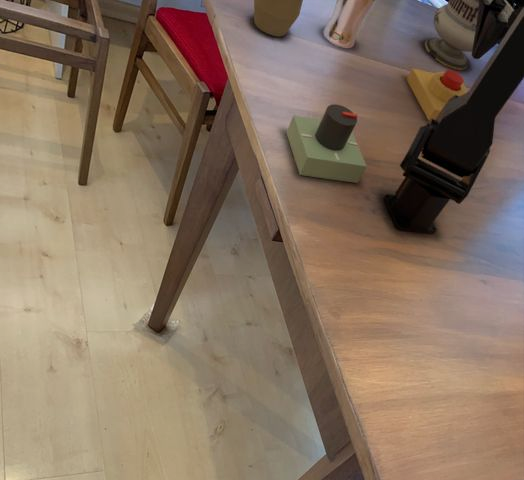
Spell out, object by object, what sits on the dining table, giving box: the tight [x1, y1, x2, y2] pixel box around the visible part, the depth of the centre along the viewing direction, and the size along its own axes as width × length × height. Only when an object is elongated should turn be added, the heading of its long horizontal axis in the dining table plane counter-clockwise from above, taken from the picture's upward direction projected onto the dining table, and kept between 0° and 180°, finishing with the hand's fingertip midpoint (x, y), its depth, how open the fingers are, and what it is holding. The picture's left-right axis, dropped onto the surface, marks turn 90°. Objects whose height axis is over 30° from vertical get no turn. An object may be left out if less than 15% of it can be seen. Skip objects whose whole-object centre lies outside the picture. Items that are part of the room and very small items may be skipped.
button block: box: [406, 68, 468, 121], centre depth 99 cm, size 12×9×4 cm
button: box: [440, 69, 465, 91], centre depth 97 cm, size 4×4×2 cm
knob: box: [315, 103, 358, 150], centre depth 75 cm, size 4×4×4 cm
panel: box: [286, 114, 368, 184], centre depth 78 cm, size 9×9×3 cm
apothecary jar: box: [424, 0, 479, 71], centre depth 107 cm, size 12×12×18 cm
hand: (474, 57), depth 86 cm, fingers closed
